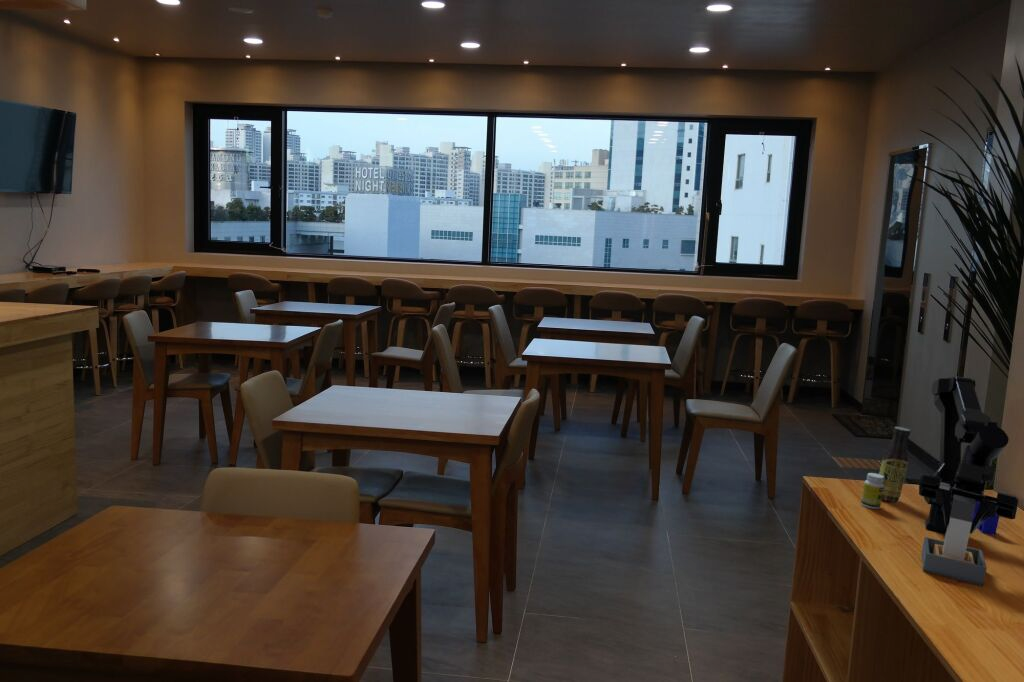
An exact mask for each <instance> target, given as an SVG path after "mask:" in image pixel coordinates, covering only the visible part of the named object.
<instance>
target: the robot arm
mask: <svg viewBox="0 0 1024 682" xmlns="http://www.w3.org/2000/svg"><path fill="white" fill-rule="evenodd" d="M931 395H932V396H933V404H934V405H935V407H936V408H937V410H938V412H939V413H940V433H939V435H940V436H939V467H938V468H937V470H936V471H935V472H934V474H927V473H924V474H922V475H920V479H919V482H918V495H919V496H920V497H923V498H924V501H925V502H926V504H927V505H930V507H929V512H928V517H927V519H924V524H925V525H924V526H925V529H927V530H931V531H935V532H939V533H944V534H946V531H947V526H948V523H949V516H950V511H951V506H952V502H953V497H954V495H959V496H963V497H967V498H972V499H975V502H977V503H980V505H979V508H978V511H977V513H976V515H975V518H974V520H973V522H972V525H971V529H970V534H969V535H971V534H973V533H974V532H975V531H976V530H978V526H979V525H980V524H981V523H982V522H984V521H985V520H986V519H988V518H989V517H992V518H994V517H995V515H996V514H997V515H998V516H999V518H1005V519H1009V520H1015V519H1016V517H1017V510H1018V506H1019V501H1020V499H1019V498H1018V496H1017V495H1013V494H1010V493H1005V492H1002V491H997V496H996V497H994V496H991V495H986V494H985V490H986V487H987V483H990V484H993V483H994V481H995V476H996V472H997V467H995V466H992V463H993V460H996V459H997V458H998V456H999V455H1000V454H1001V453H1002V451H1003V450H1004V449H1005V447H1007V445H1008V443H1009V438H1010V437H1009V436H1008V434H1007V433H1006V432H1005V430H1004V429H1003V428H1000V427H999V426H998V422H996V421H993V420H992V418H991V417H990V416H988V415H987V414H985V413H984V412H983V411H982V408H981V407H982V406H981V404H980V400H979V397H978V393H977V392H976V380H975V379H973V378H971V377H965V376H958V375H956V376H951V377H947V378H946V377H945V378H944V377H943V378H942V377H939V378H938V379H936V380H935V381H933V383H932V386H931ZM962 444H968V445H966V446H965V447H964V451H963V453H962Z"/></svg>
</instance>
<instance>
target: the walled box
mask: <svg viewBox="0 0 1024 682" xmlns="http://www.w3.org/2000/svg"><path fill="white" fill-rule="evenodd" d="M922 545H923V546H922V548H921V553H922V554H921V564H922V565H923V566H922V572H924V571H925V572H924V573H928V572H929V574H932V573H933V575H936V574H937V575H936V576H940V575H941V577H945V578H949V579H952V580H957V581H961V582H965V583H968V584H973V585H977V586H980V587H984V582H985V577H986V574H987V568H988V567H987V564H986V561H985V560H986V559H985V558H984V553H983V551H982V549H979V548H978V549H977V548H975V547H970V546H967V548H966V553H965V558H964V560H960V559H956V558H952V557H948V556H944V555H942V550H943V545H944V540H939V539H935V538H931V537H928V536H924V539H923V544H922Z"/></svg>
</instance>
